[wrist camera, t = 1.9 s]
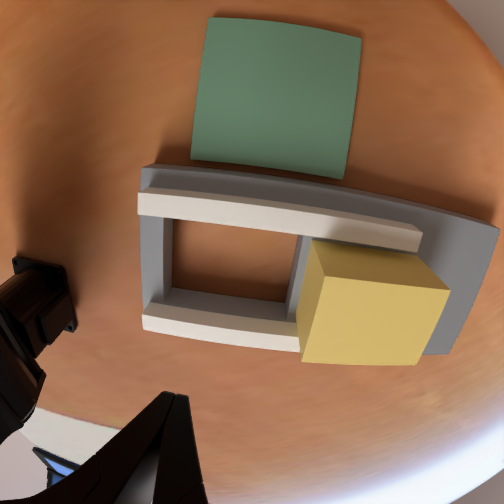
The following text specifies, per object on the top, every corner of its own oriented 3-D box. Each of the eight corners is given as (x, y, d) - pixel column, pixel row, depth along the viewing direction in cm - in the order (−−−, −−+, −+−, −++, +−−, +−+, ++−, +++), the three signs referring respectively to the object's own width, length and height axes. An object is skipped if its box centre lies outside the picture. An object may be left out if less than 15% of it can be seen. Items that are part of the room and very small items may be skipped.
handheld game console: (91, 468, 38) (76, 506, 29) (115, 494, 43) (104, 526, 34) (31, 443, 38) (15, 474, 30) (58, 472, 43) (46, 500, 35)
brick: (295, 313, 19) (301, 361, 15) (311, 239, 17) (325, 276, 13) (392, 322, 19) (415, 364, 15) (416, 255, 17) (451, 290, 13)
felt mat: (192, 158, 17) (189, 159, 17) (210, 20, 14) (208, 17, 13) (340, 178, 17) (343, 179, 17) (358, 41, 14) (361, 38, 13)
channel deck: (153, 312, 22) (137, 340, 19) (153, 163, 18) (130, 171, 14) (439, 340, 22) (455, 365, 19) (485, 220, 18) (512, 236, 14)
